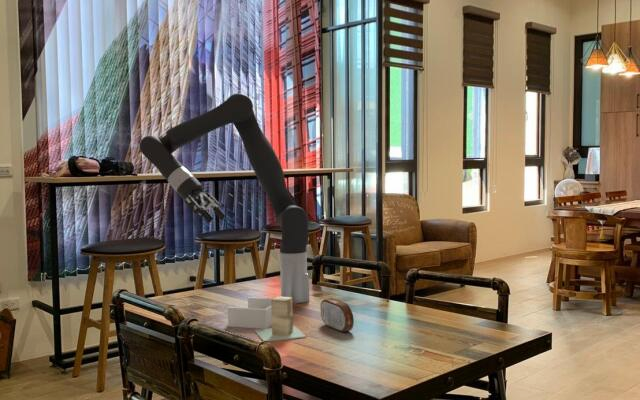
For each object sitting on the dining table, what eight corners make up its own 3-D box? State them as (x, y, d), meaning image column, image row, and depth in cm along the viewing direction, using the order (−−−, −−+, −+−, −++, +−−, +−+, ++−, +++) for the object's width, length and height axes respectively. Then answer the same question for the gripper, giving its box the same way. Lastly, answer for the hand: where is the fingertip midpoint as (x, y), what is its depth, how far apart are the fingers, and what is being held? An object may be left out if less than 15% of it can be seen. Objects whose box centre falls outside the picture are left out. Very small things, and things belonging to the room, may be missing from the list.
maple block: (278, 330, 193) (277, 296, 192) (293, 331, 191) (292, 297, 190) (272, 334, 188) (271, 299, 188) (287, 335, 187) (286, 300, 186)
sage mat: (294, 327, 198) (294, 325, 198) (305, 337, 186) (305, 336, 186) (254, 331, 194) (254, 329, 194) (263, 342, 183) (263, 340, 183)
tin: (354, 333, 189) (354, 304, 189) (345, 335, 188) (344, 305, 187) (328, 322, 202) (327, 295, 202) (319, 324, 201) (318, 296, 200)
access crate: (226, 327, 201) (226, 307, 200) (248, 315, 215) (247, 296, 215) (266, 330, 197) (265, 310, 196) (285, 317, 211) (285, 299, 210)
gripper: (180, 176, 209) (214, 213, 206) (202, 174, 223) (235, 209, 220) (166, 193, 211) (199, 230, 209) (189, 190, 225) (221, 225, 222)
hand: (217, 219), depth 214 cm, fingers open, 8 cm apart
